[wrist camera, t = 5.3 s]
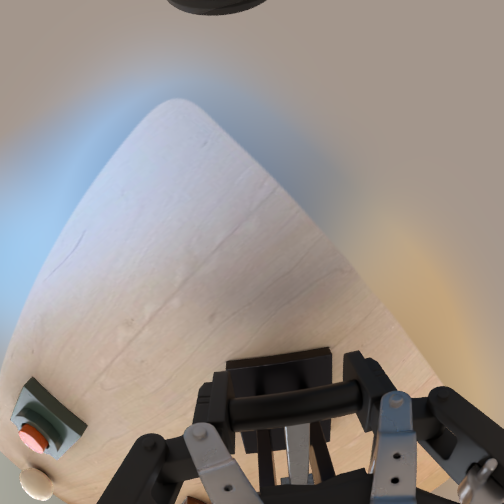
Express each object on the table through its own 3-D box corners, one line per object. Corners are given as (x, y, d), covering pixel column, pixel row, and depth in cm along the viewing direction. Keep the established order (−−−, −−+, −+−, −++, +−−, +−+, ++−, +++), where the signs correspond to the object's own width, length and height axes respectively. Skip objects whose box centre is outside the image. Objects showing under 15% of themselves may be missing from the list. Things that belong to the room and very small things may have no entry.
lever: (228, 385, 12) (227, 426, 10) (350, 366, 12) (367, 402, 10) (260, 493, 16) (262, 518, 14) (332, 482, 16) (338, 506, 14)
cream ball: (23, 455, 29) (9, 476, 22) (54, 474, 30) (41, 497, 23) (31, 471, 30) (18, 491, 24) (60, 488, 31) (49, 510, 24)
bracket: (226, 361, 24) (214, 482, 11) (328, 346, 24) (381, 454, 11) (245, 445, 26) (247, 543, 14) (327, 433, 26) (356, 526, 14)
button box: (32, 376, 25) (15, 393, 21) (87, 425, 26) (75, 446, 22) (16, 411, 26) (4, 426, 22) (62, 451, 28) (52, 468, 24)
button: (27, 419, 22) (20, 427, 20) (51, 440, 23) (46, 449, 21) (22, 428, 23) (16, 436, 21) (45, 448, 23) (39, 456, 22)
